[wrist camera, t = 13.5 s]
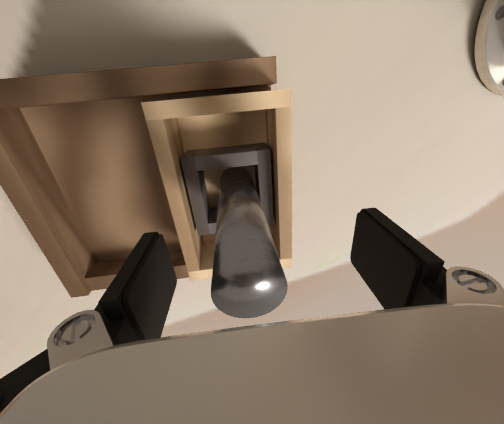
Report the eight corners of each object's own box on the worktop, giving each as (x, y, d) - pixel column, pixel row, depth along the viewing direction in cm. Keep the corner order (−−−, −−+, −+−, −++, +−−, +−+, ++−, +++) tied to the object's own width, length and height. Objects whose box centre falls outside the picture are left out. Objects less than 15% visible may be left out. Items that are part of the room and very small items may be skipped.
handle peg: (251, 165, 20) (286, 256, 8) (254, 196, 21) (287, 312, 9) (217, 168, 20) (204, 267, 8) (222, 199, 21) (217, 322, 9)
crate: (275, 91, 18) (291, 88, 14) (279, 236, 24) (291, 266, 20) (162, 102, 18) (140, 102, 13) (197, 247, 24) (190, 280, 19)
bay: (267, 63, 18) (277, 54, 15) (275, 244, 27) (283, 268, 23) (-1, 86, 17) (-64, 82, 14) (94, 268, 26) (71, 297, 22)
